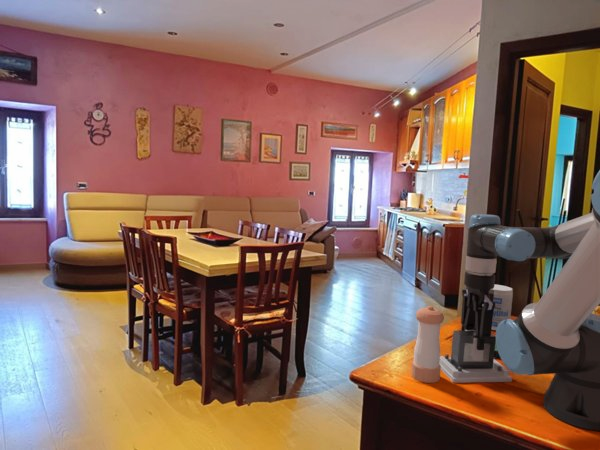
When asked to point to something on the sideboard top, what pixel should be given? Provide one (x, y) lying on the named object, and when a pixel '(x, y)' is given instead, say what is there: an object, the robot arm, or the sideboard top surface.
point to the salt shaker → (427, 346)
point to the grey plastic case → (464, 348)
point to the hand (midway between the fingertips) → (472, 356)
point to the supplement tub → (501, 304)
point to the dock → (474, 372)
